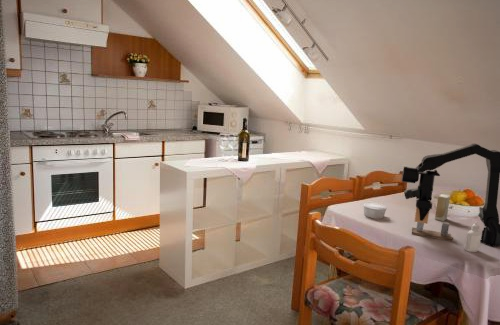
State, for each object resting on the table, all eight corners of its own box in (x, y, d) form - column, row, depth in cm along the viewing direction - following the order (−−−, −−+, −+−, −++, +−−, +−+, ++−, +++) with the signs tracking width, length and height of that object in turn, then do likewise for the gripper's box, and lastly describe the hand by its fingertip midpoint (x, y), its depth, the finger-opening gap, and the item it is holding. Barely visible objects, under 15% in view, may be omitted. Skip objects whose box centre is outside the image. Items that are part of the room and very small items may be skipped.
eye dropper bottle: (480, 253, 161) (485, 224, 159) (465, 251, 162) (470, 222, 160) (477, 249, 165) (481, 221, 163) (462, 247, 166) (466, 219, 164)
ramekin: (371, 220, 196) (373, 209, 195) (357, 213, 206) (358, 203, 205) (390, 218, 200) (391, 208, 199) (375, 212, 210) (376, 202, 209)
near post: (446, 234, 178) (448, 222, 177) (447, 236, 176) (449, 224, 175) (440, 233, 179) (442, 221, 178) (440, 235, 177) (442, 223, 176)
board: (450, 236, 180) (451, 234, 179) (451, 241, 173) (452, 239, 173) (412, 229, 185) (412, 227, 185) (411, 234, 179) (411, 231, 179)
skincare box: (437, 216, 208) (441, 193, 206) (447, 218, 206) (450, 195, 203) (434, 219, 203) (437, 195, 201) (443, 221, 201) (447, 197, 199)
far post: (422, 230, 182) (424, 218, 181) (422, 232, 179) (424, 220, 178) (416, 229, 183) (417, 217, 182) (416, 231, 180) (417, 219, 179)
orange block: (427, 220, 182) (429, 206, 180) (427, 223, 177) (429, 209, 176) (414, 218, 183) (416, 204, 182) (414, 221, 179) (416, 207, 178)
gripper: (407, 178, 189) (402, 210, 191) (405, 186, 172) (401, 221, 174) (433, 181, 185) (428, 214, 187) (434, 189, 168) (429, 226, 170)
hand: (421, 218), depth 180 cm, fingers closed on orange block, 5 cm apart
